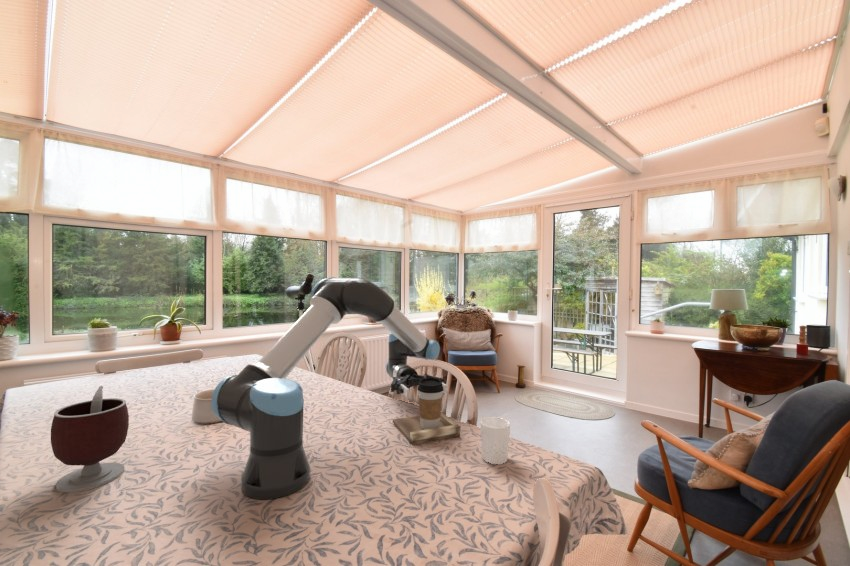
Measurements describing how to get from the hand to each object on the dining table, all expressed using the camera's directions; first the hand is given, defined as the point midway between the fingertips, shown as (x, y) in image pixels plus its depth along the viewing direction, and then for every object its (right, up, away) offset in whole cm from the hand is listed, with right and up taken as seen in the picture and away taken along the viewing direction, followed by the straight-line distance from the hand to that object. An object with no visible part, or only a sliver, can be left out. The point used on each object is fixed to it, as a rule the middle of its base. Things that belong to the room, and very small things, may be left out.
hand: (427, 391), depth 123 cm
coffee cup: (+1, -11, -4) cm, 11 cm away
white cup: (+18, -12, -22) cm, 31 cm away
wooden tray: (-1, -12, -3) cm, 12 cm away
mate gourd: (-81, -11, -33) cm, 88 cm away
